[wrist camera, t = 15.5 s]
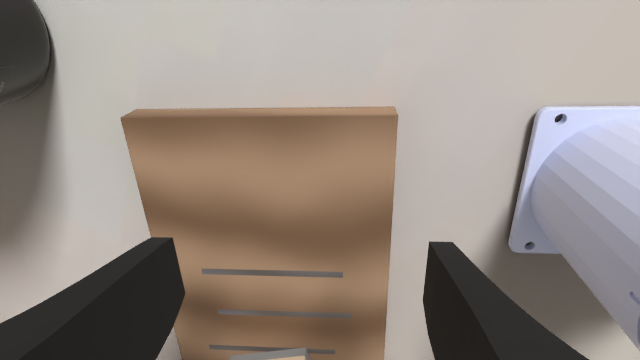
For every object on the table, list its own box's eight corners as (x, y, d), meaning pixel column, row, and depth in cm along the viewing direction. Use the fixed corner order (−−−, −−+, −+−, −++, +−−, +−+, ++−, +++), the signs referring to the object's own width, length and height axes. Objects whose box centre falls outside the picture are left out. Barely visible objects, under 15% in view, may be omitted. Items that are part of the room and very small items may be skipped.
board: (136, 109, 20) (120, 117, 18) (394, 107, 19) (397, 115, 17) (208, 413, 30) (201, 433, 29) (377, 423, 29) (378, 443, 28)
